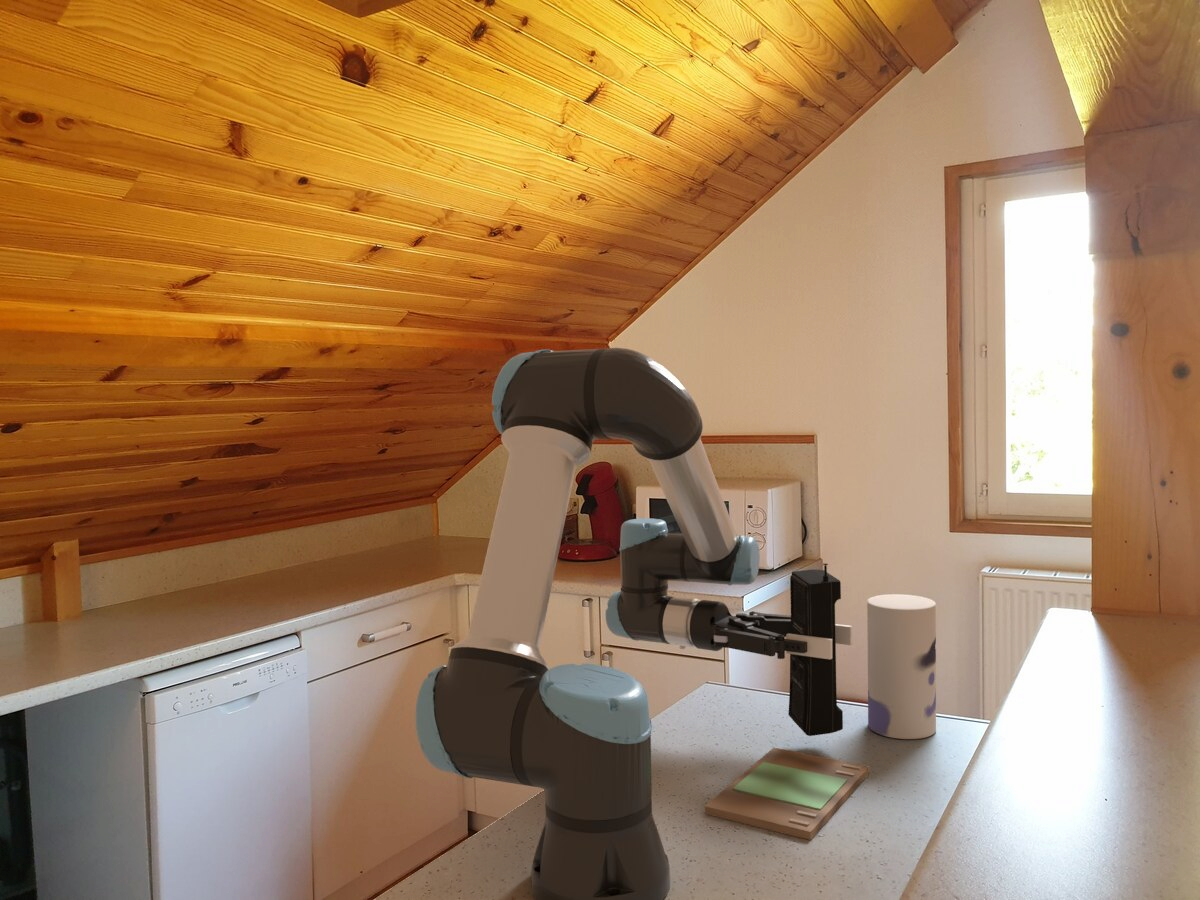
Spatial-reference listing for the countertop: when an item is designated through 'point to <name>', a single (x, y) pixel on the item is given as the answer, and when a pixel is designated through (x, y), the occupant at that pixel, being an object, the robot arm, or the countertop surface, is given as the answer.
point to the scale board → (788, 792)
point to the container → (901, 666)
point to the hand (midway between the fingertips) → (841, 642)
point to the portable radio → (814, 675)
